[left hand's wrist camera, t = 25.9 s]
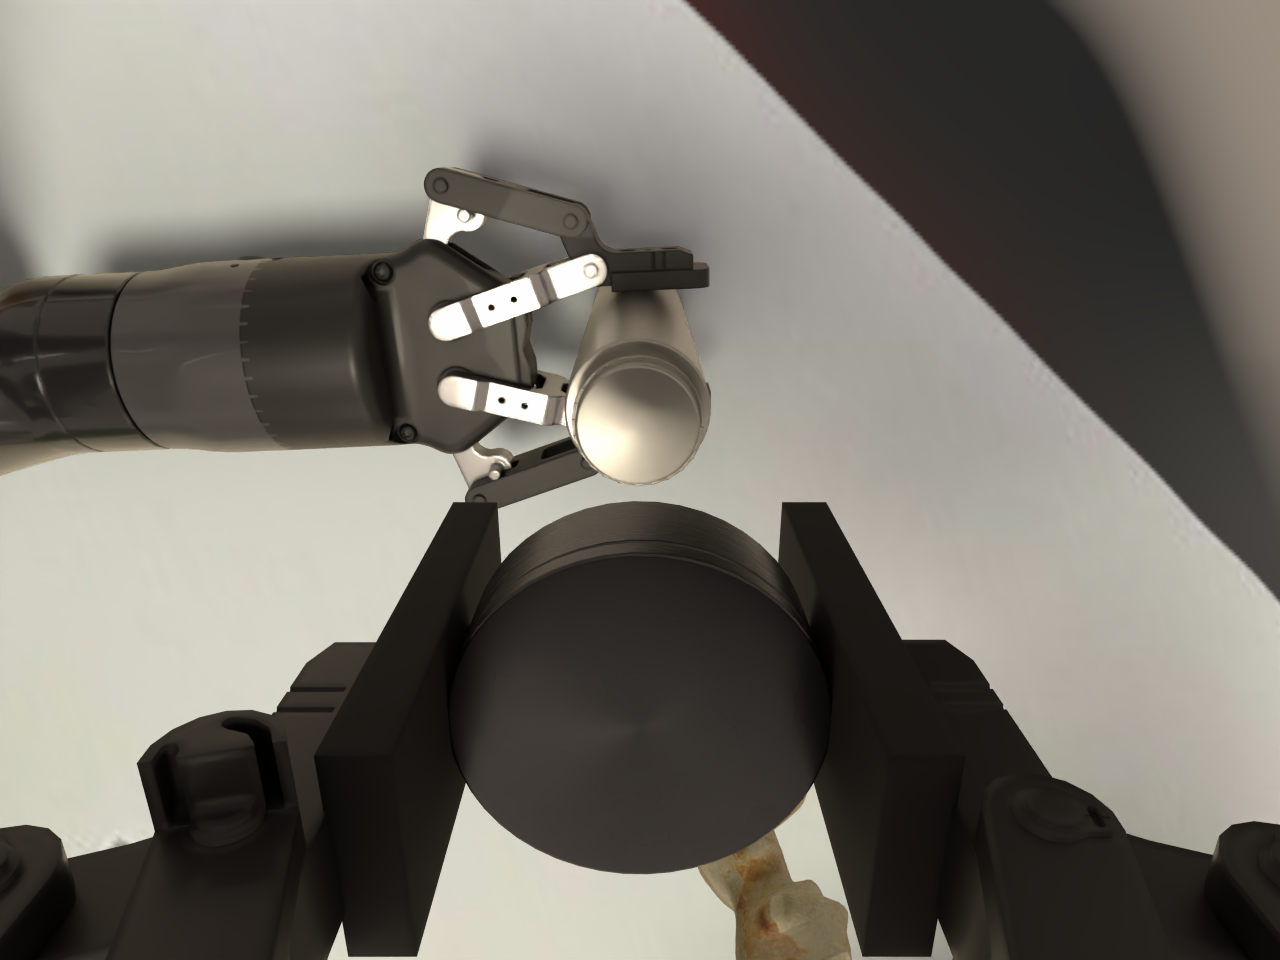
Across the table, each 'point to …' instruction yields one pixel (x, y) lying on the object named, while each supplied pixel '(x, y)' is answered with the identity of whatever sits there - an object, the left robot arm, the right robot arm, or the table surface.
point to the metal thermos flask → (637, 388)
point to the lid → (639, 691)
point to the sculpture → (777, 906)
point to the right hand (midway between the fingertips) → (706, 336)
